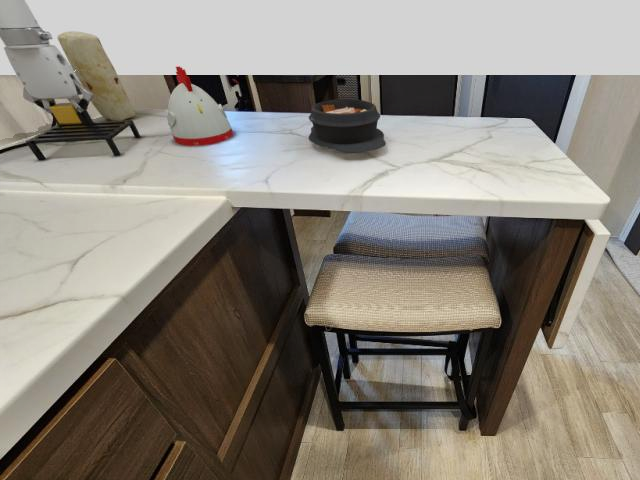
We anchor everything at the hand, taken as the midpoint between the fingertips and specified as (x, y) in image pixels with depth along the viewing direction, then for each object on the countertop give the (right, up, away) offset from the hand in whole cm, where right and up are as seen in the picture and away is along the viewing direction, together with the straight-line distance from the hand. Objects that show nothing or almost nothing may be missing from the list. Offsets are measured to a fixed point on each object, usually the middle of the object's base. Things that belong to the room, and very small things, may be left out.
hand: (78, 128), depth 84 cm
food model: (0, +9, +12) cm, 15 cm away
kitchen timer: (+32, -2, +1) cm, 32 cm away
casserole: (+69, -5, -2) cm, 70 cm away
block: (0, -1, +1) cm, 2 cm away
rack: (+9, -8, -6) cm, 13 cm away
